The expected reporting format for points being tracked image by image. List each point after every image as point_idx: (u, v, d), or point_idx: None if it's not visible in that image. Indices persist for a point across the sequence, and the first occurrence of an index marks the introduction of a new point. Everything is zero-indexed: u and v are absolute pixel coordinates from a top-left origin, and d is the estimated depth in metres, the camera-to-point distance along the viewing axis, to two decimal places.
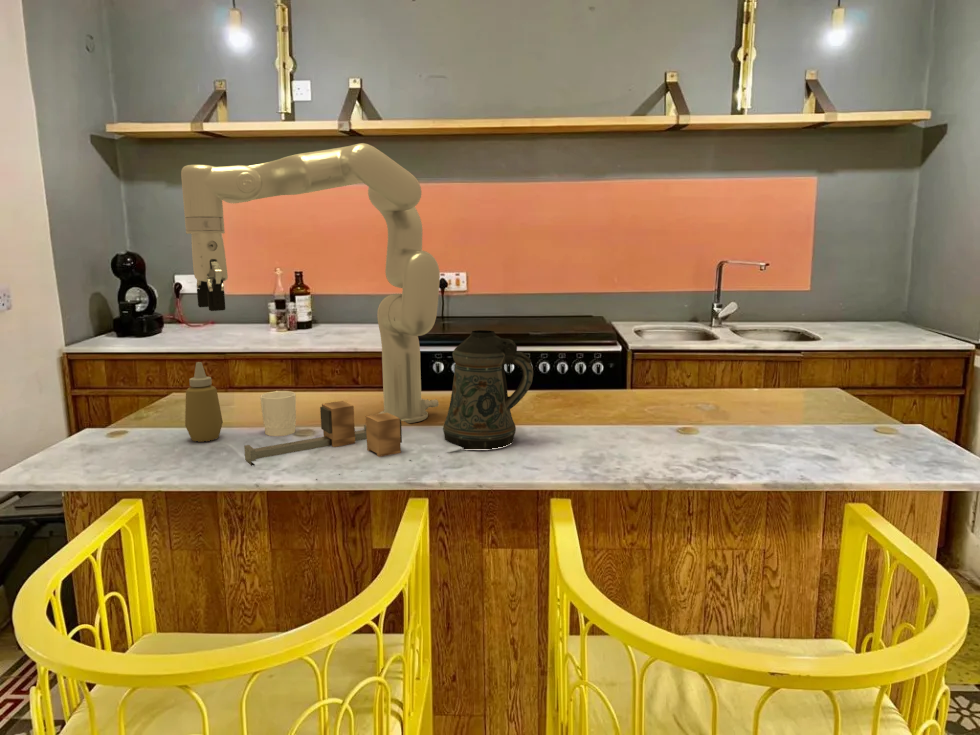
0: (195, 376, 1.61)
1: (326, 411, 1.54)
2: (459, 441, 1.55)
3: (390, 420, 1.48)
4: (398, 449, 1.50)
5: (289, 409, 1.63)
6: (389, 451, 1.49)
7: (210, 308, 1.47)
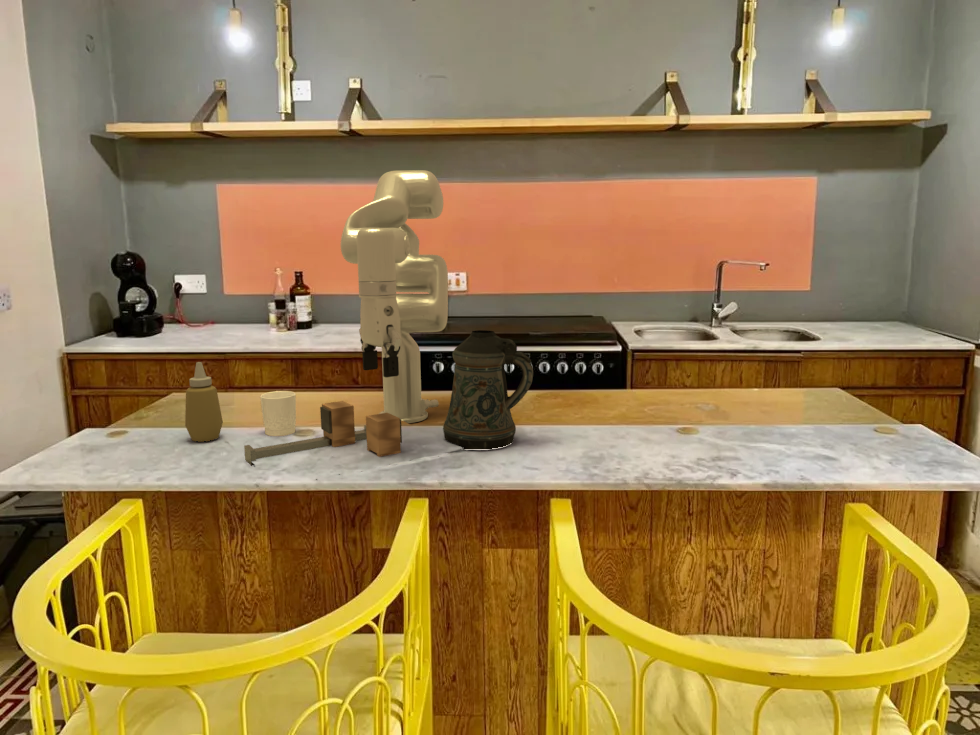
0: (195, 376, 1.61)
1: (326, 411, 1.54)
2: (459, 441, 1.55)
3: (390, 420, 1.48)
4: (398, 449, 1.50)
5: (289, 409, 1.63)
6: (389, 451, 1.49)
7: (385, 374, 1.43)
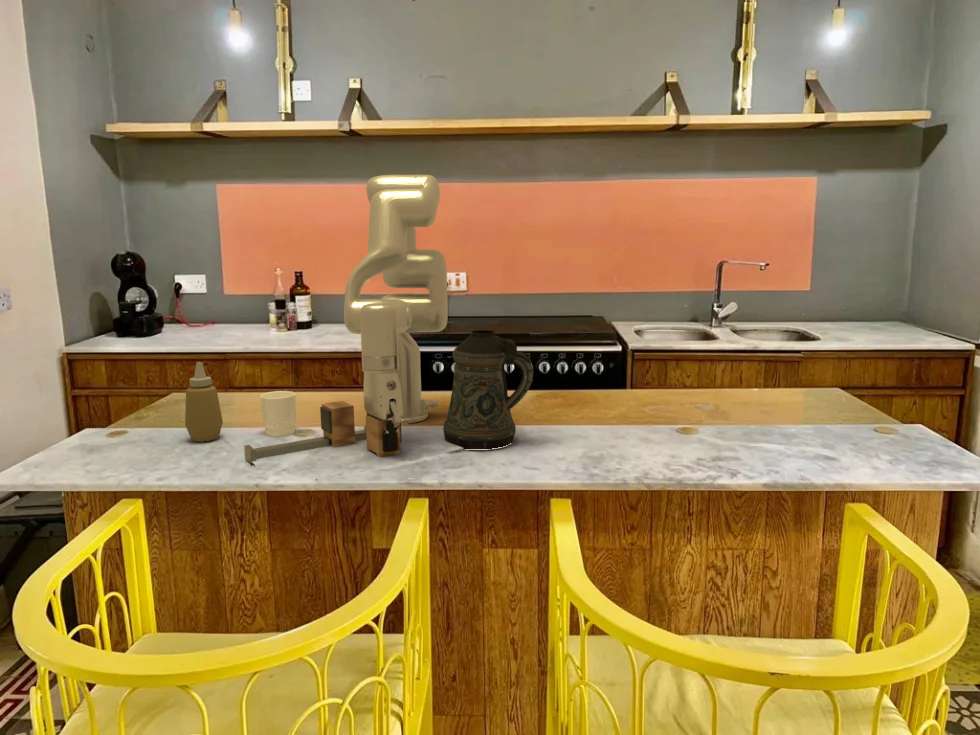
0: (195, 376, 1.61)
1: (326, 411, 1.54)
2: (459, 441, 1.55)
3: None
4: (398, 449, 1.50)
5: (289, 409, 1.63)
6: None
7: (385, 450, 1.47)
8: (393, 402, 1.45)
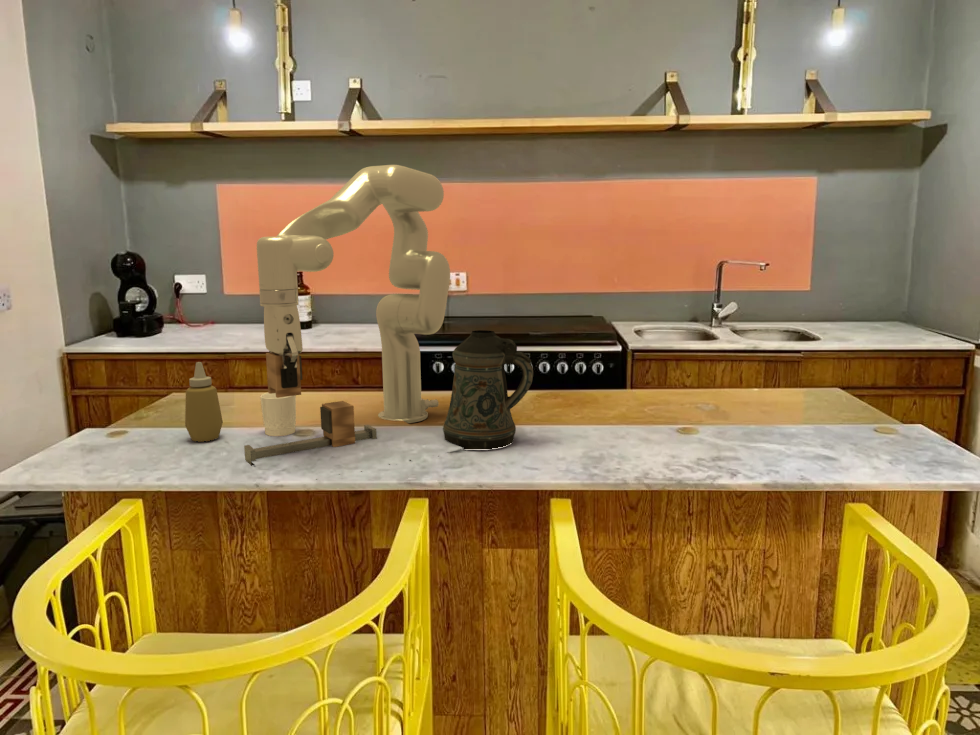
0: (195, 376, 1.61)
1: (326, 411, 1.54)
2: (459, 441, 1.55)
3: None
4: (298, 386, 1.47)
5: (289, 409, 1.63)
6: (288, 388, 1.46)
7: (283, 385, 1.45)
8: (290, 336, 1.43)
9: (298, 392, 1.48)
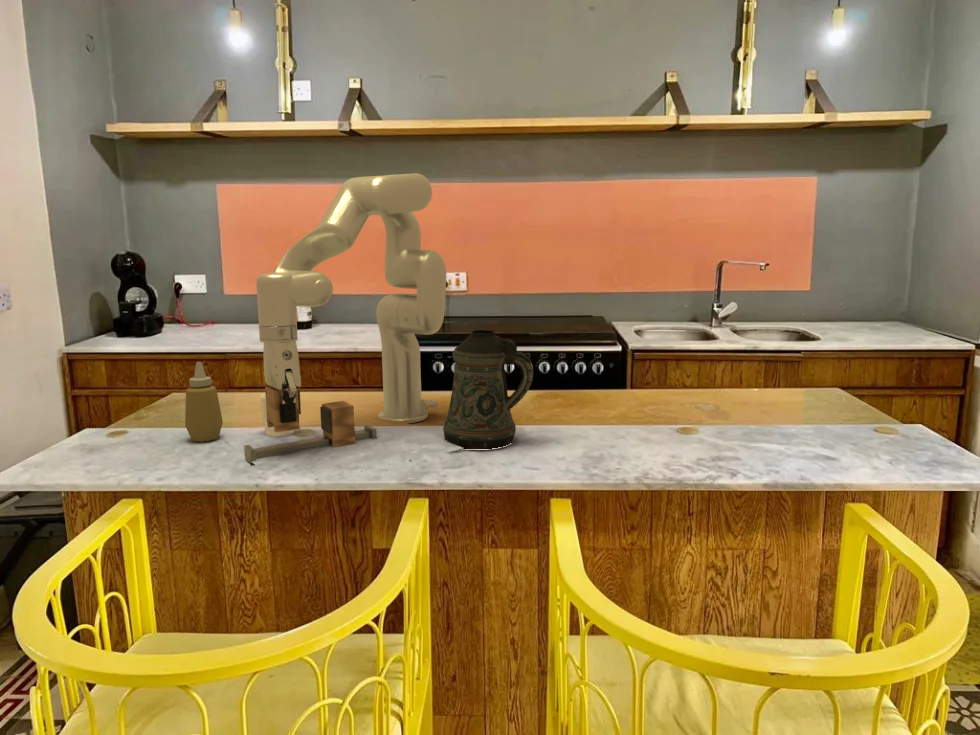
0: (195, 376, 1.61)
1: (326, 411, 1.54)
2: (459, 441, 1.55)
3: None
4: (296, 420, 1.49)
5: None
6: None
7: (282, 420, 1.46)
8: (289, 372, 1.44)
9: (297, 427, 1.49)
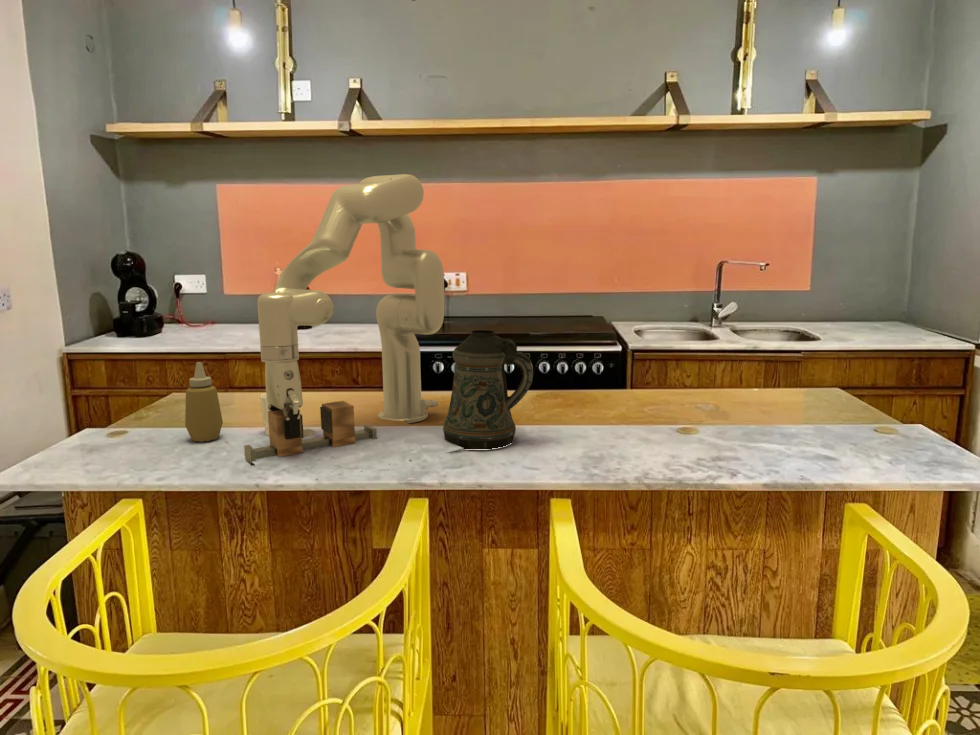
0: (195, 376, 1.61)
1: (326, 411, 1.54)
2: (459, 441, 1.55)
3: None
4: (299, 445, 1.50)
5: None
6: (289, 447, 1.49)
7: (286, 437, 1.46)
8: None
9: (299, 451, 1.50)
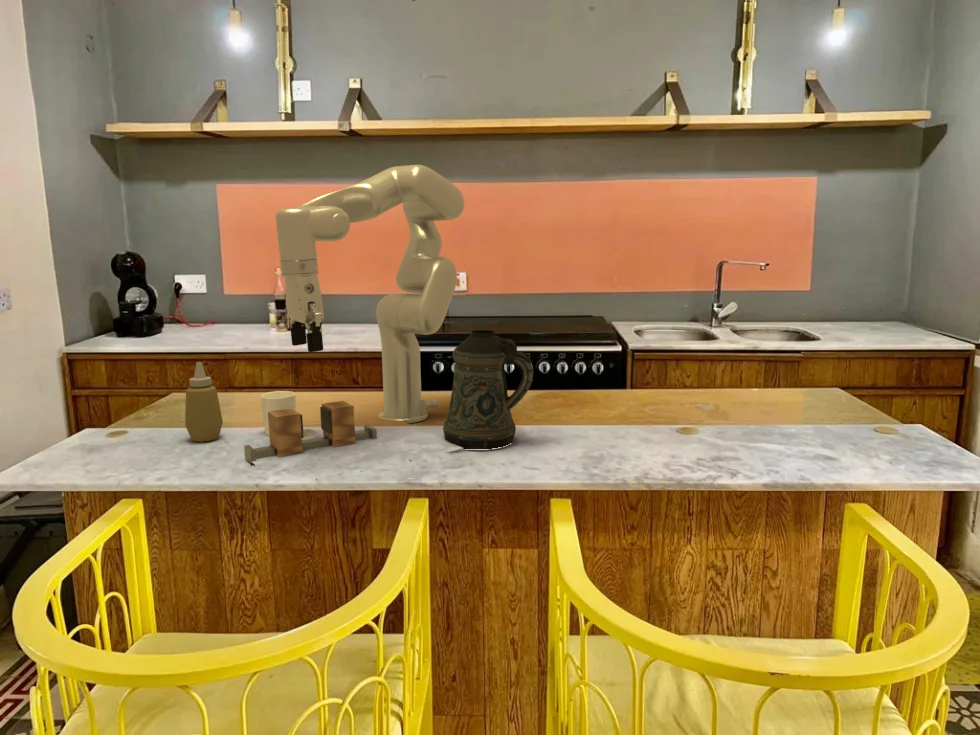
0: (195, 376, 1.61)
1: (326, 411, 1.54)
2: (459, 441, 1.55)
3: (290, 416, 1.48)
4: (299, 445, 1.50)
5: None
6: (289, 447, 1.49)
7: (309, 349, 1.49)
8: None
9: (299, 451, 1.50)
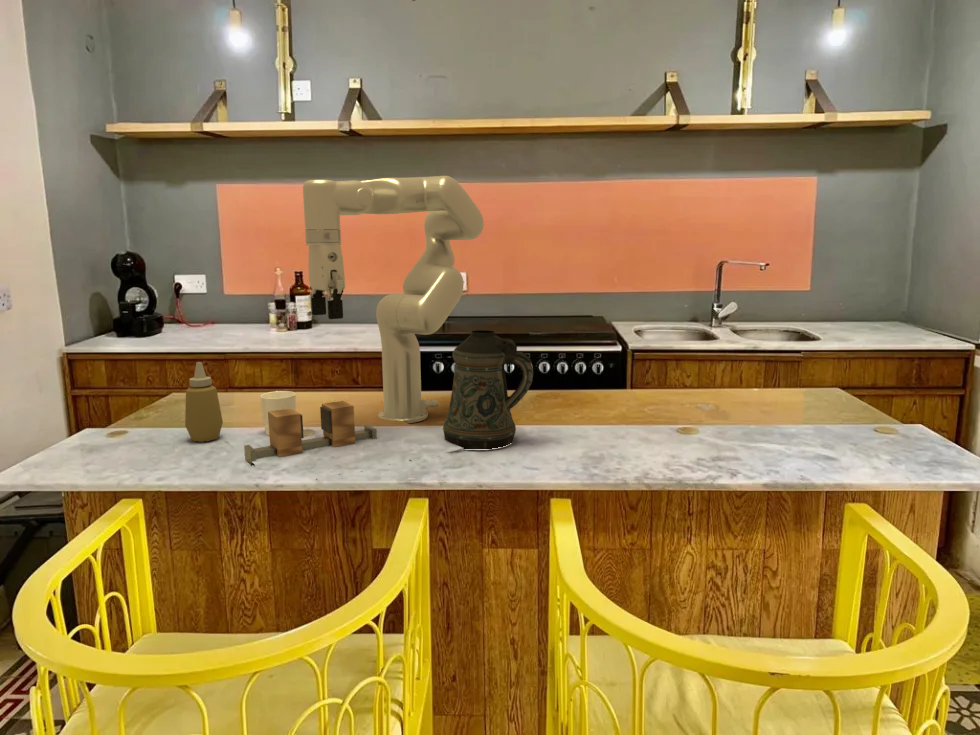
0: (195, 376, 1.61)
1: (326, 411, 1.54)
2: (459, 441, 1.55)
3: (290, 416, 1.48)
4: (299, 445, 1.50)
5: None
6: (289, 447, 1.49)
7: (330, 316, 1.53)
8: None
9: (299, 451, 1.50)
